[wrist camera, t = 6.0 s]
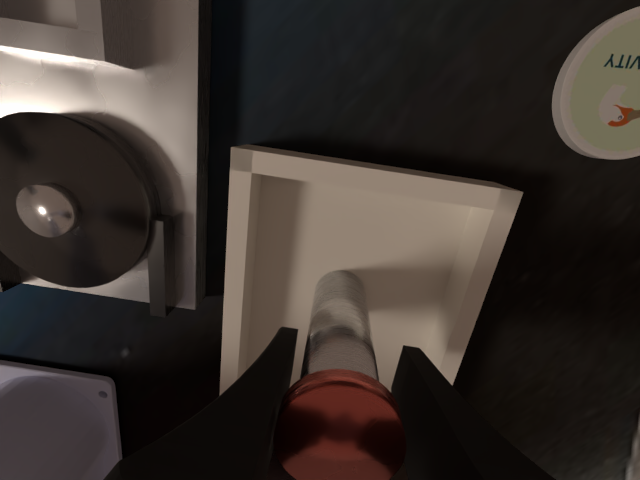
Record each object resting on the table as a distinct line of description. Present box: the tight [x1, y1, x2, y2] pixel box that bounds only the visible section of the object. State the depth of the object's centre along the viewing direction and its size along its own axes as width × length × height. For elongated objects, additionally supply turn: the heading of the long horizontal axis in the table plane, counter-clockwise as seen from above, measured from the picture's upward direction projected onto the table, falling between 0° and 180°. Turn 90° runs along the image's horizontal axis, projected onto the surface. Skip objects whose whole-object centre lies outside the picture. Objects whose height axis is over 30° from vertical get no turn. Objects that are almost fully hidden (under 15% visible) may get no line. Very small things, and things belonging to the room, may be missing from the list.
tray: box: [219, 144, 523, 396], centre depth 15 cm, size 14×11×2 cm
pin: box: [273, 270, 406, 480], centre depth 11 cm, size 3×3×8 cm
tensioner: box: [0, 0, 212, 317], centre depth 12 cm, size 16×10×3 cm, turn 172°
